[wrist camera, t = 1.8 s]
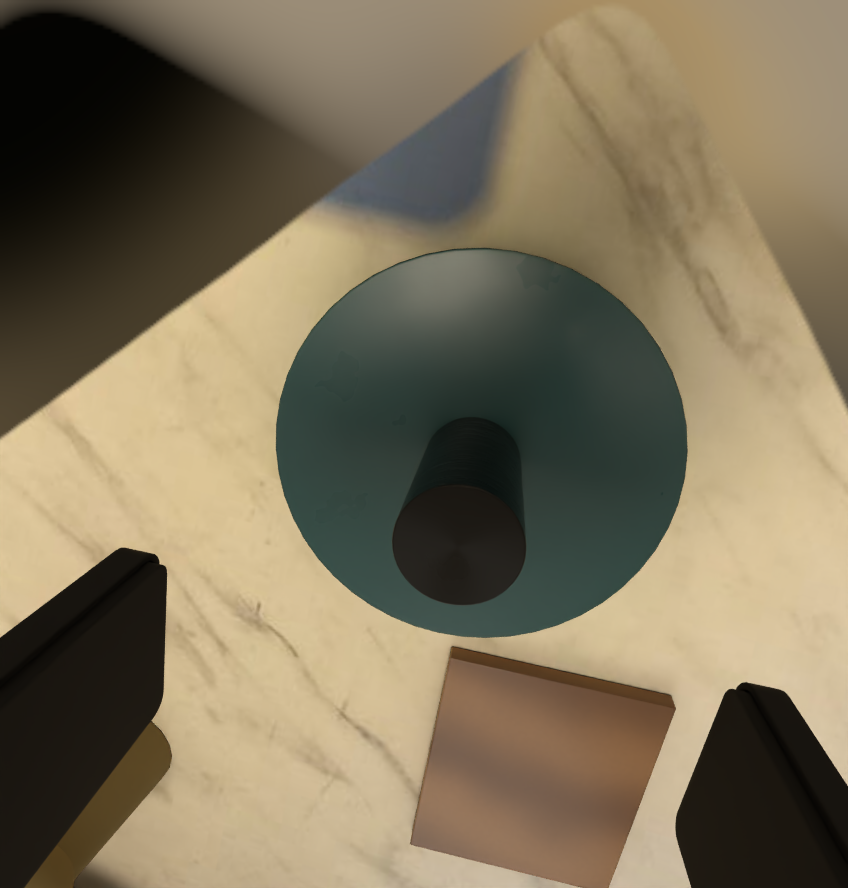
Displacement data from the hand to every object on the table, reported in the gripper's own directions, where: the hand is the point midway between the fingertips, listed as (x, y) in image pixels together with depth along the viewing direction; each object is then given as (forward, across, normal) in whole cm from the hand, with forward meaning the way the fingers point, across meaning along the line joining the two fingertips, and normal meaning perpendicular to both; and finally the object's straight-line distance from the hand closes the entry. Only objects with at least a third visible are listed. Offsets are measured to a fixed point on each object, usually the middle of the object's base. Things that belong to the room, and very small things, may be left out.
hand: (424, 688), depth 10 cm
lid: (+11, 0, 0) cm, 11 cm away
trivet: (+20, -7, +21) cm, 30 cm away
